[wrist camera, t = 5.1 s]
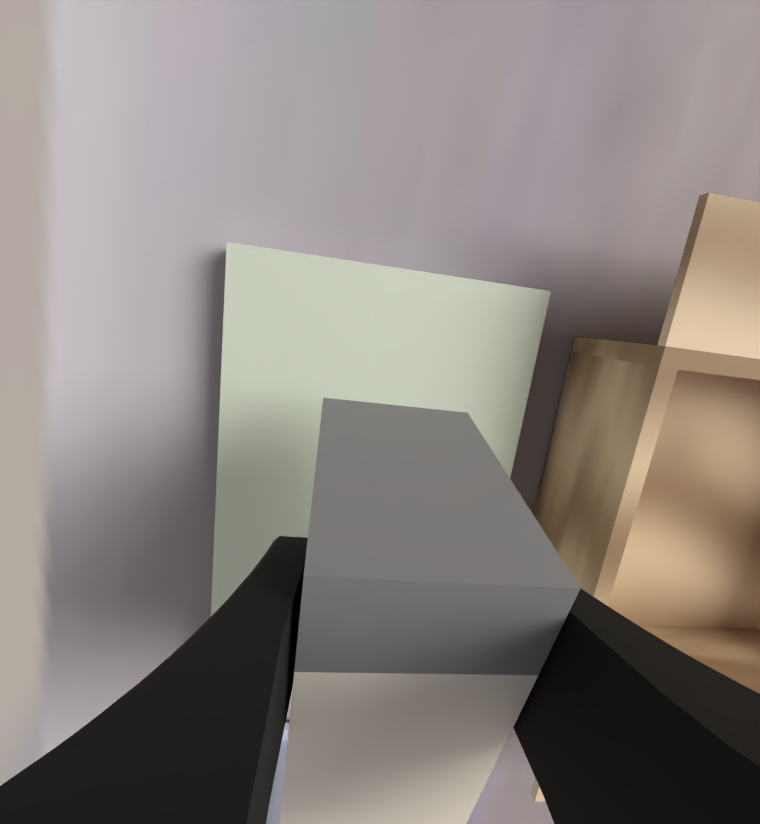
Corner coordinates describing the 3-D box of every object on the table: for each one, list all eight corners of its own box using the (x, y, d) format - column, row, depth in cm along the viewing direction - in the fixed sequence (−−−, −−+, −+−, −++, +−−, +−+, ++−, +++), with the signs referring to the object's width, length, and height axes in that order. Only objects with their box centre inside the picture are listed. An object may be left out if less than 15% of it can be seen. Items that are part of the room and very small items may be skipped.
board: (462, 648, 19) (469, 666, 18) (215, 643, 17) (208, 662, 17) (537, 292, 15) (550, 291, 14) (234, 246, 14) (226, 242, 13)
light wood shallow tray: (727, 695, 22) (826, 792, 17) (490, 694, 20) (534, 801, 16) (893, 278, 17) (1087, 267, 13) (601, 226, 15) (709, 192, 11)
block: (414, 613, 15) (456, 843, 9) (301, 609, 14) (276, 851, 9) (467, 412, 11) (580, 588, 6) (323, 397, 11) (303, 575, 5)
